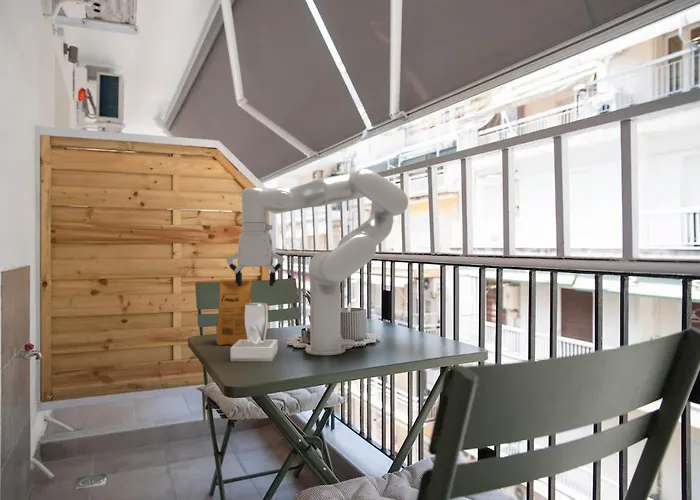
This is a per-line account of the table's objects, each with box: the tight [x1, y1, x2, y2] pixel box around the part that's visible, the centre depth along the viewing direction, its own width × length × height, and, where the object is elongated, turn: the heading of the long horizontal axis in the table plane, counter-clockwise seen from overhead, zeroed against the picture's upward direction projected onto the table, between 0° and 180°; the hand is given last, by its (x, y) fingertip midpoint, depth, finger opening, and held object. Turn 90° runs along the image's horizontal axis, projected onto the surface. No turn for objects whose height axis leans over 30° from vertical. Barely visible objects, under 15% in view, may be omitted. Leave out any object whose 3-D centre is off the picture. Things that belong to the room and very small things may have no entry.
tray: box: [230, 339, 279, 362], centre depth 149 cm, size 12×12×4 cm
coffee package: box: [215, 278, 253, 346], centre depth 170 cm, size 10×12×22 cm
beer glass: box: [244, 302, 269, 347], centre depth 149 cm, size 7×7×15 cm
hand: (255, 285), depth 149 cm, fingers open, 9 cm apart
